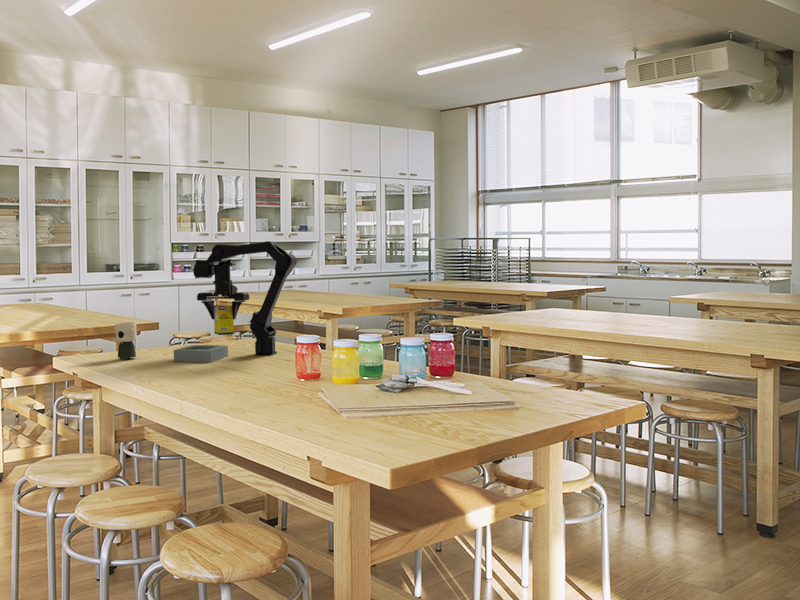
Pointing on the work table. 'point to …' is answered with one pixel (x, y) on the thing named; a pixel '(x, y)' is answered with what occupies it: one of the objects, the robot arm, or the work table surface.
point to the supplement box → (223, 320)
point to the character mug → (126, 339)
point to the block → (201, 353)
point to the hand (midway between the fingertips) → (223, 319)
